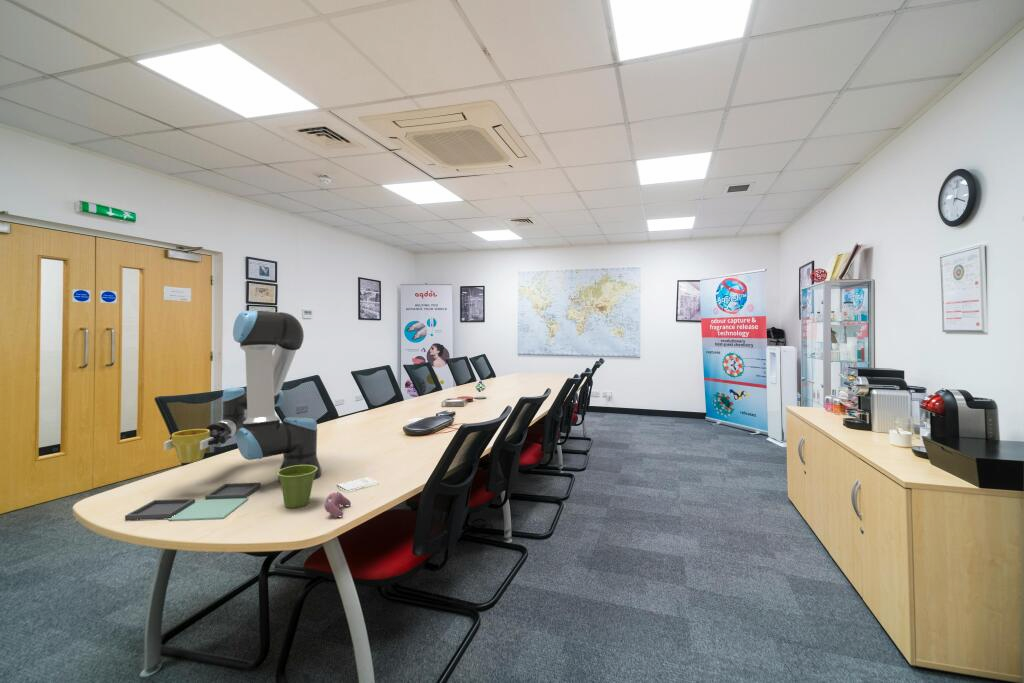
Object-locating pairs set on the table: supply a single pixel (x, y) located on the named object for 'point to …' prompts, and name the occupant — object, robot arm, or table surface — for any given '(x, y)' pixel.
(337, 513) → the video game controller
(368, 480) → the white flat block
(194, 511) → the pad
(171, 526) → the table surface
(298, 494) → the plant pot
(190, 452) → the plant pot
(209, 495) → the tray
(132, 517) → the tray
